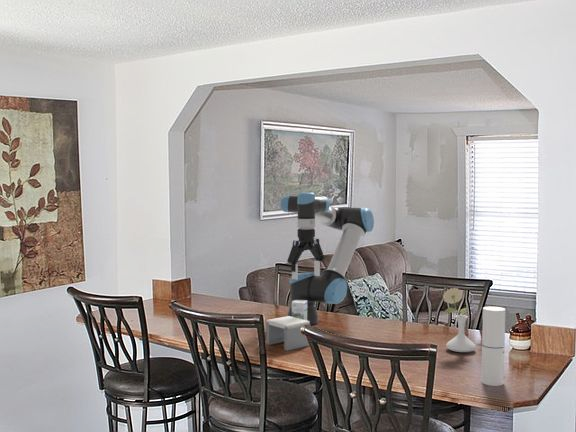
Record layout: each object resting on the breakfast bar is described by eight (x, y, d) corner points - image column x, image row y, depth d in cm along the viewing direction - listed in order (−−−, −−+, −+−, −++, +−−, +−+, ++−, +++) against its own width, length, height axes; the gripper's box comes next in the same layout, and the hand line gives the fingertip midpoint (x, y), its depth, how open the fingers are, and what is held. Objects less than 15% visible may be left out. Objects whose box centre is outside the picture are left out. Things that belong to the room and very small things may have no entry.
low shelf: (266, 344, 271) (266, 319, 271) (288, 339, 279) (288, 315, 278) (287, 350, 262) (287, 325, 261) (309, 345, 269) (309, 321, 269)
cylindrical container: (476, 381, 224) (478, 307, 222) (491, 377, 227) (493, 305, 226) (493, 387, 217) (495, 311, 216) (508, 383, 221) (510, 309, 220)
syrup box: (307, 332, 291) (307, 299, 290) (303, 335, 285) (303, 302, 284) (295, 331, 293) (295, 299, 292) (291, 334, 287) (291, 301, 286)
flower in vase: (476, 348, 266) (477, 286, 264) (475, 355, 255) (477, 291, 253) (442, 345, 269) (443, 284, 268) (440, 353, 259) (441, 289, 257)
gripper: (291, 230, 274) (291, 281, 276) (332, 227, 291) (332, 275, 293) (278, 229, 280) (279, 279, 281) (319, 226, 297) (319, 273, 298)
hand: (306, 277), depth 287 cm, fingers open, 13 cm apart
